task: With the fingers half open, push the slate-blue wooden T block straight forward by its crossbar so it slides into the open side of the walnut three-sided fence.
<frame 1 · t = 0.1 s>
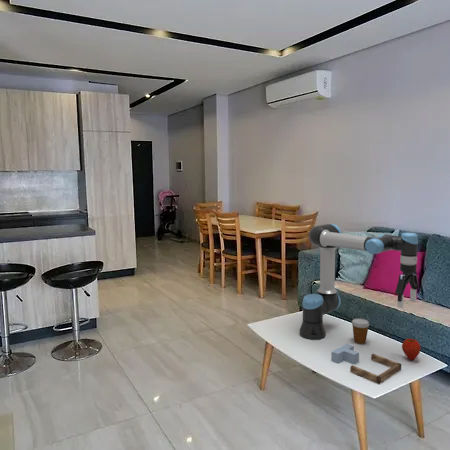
hand: (406, 304, 204), 28 cm above the table, tool pointing down, fingers open, 13 cm apart
apple: (410, 359, 204), on the table
walnut fence: (374, 370, 194), on the table
disposable coffee cup: (359, 341, 226), on the table
t block: (347, 359, 205), on the table
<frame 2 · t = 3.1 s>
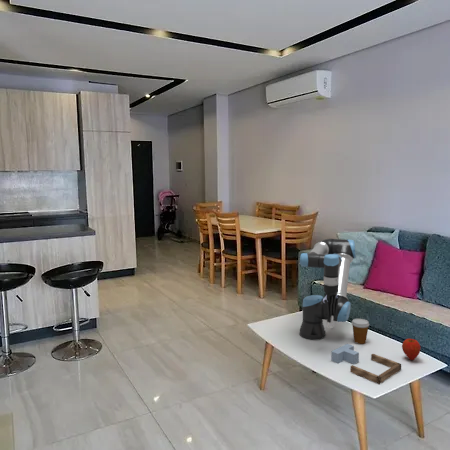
hand: (330, 327, 211), 14 cm above the table, tool pointing down, fingers closed
nothing on the table moved.
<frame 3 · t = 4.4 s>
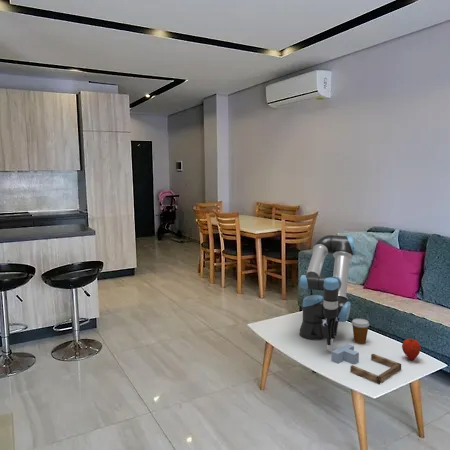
hand: (330, 350, 213), 1 cm above the table, tool pointing down, fingers closed
nothing on the table moved.
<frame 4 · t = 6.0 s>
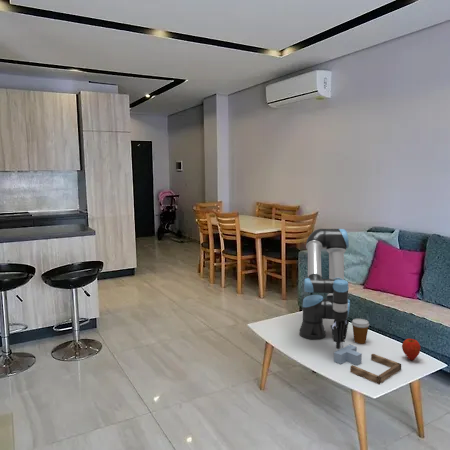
hand: (339, 353, 208), 2 cm above the table, tool pointing down, fingers closed
t block: (350, 360, 204), on the table, touching gripper
everything else where it was.
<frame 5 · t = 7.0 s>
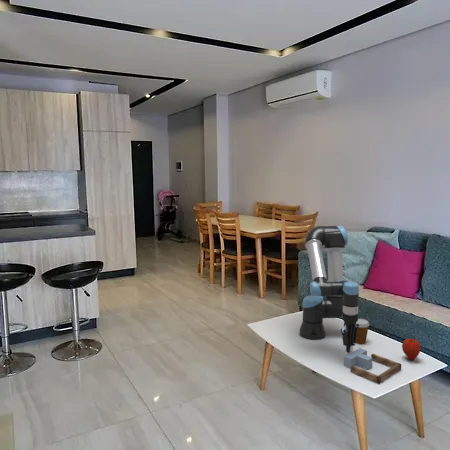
hand: (349, 357, 204), 2 cm above the table, tool pointing down, fingers closed
t block: (360, 364, 199), on the table, touching gripper
everything else where it was.
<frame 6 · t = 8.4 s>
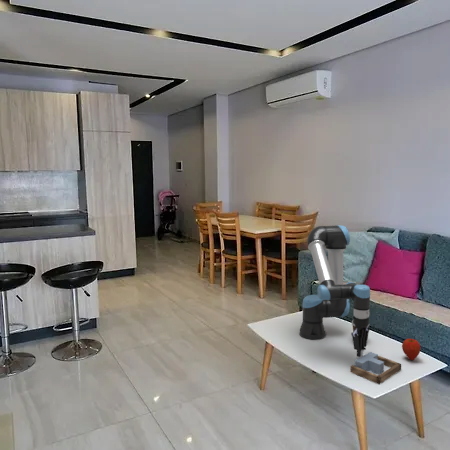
hand: (359, 361, 199), 1 cm above the table, tool pointing down, fingers closed
t block: (371, 369, 195), on the table, touching gripper
everything else where it was.
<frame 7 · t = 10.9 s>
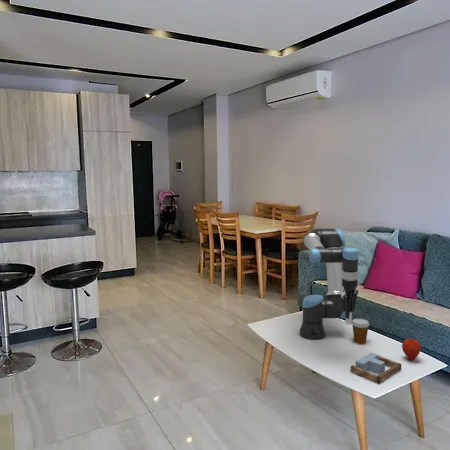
hand: (348, 323, 203), 19 cm above the table, tool pointing down, fingers closed
t block: (372, 369, 194), on the table
everything else where it was.
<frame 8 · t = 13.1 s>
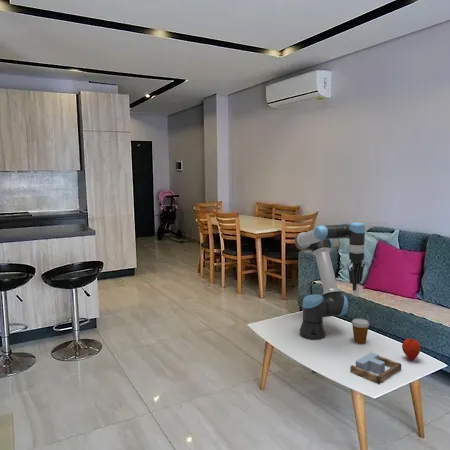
hand: (355, 295, 212), 30 cm above the table, tool pointing down, fingers closed
nothing on the table moved.
at the end: t block inside the target area (0.5 cm from its centre), on the table; t block moved 14.0 cm from its start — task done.
